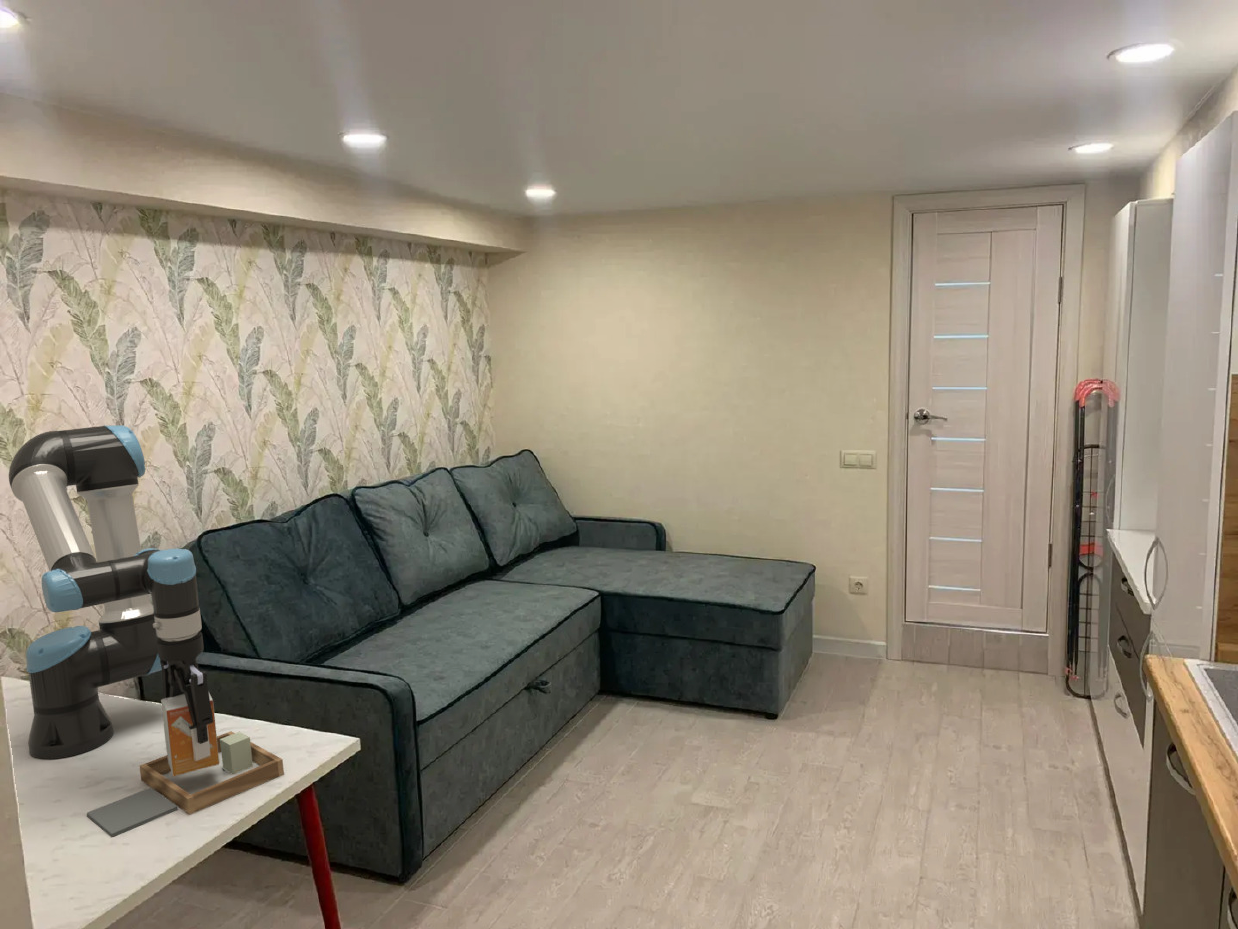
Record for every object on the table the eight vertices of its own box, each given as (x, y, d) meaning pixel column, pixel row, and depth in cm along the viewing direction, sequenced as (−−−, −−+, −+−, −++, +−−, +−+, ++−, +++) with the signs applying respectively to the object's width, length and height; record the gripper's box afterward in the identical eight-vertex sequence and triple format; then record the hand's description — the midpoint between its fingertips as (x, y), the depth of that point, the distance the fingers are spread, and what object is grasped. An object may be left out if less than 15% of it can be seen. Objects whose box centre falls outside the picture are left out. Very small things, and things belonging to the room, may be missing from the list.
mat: (87, 816, 163) (86, 812, 163) (151, 790, 171) (150, 787, 171) (112, 837, 156) (111, 834, 156) (177, 809, 164) (177, 806, 164)
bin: (141, 780, 175) (139, 765, 175) (232, 745, 189) (231, 731, 188) (189, 814, 162) (187, 798, 162) (283, 774, 176) (282, 759, 175)
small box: (173, 777, 168) (165, 710, 166) (167, 763, 174) (160, 698, 171) (220, 764, 173) (213, 699, 170) (213, 751, 178) (207, 687, 176)
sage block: (222, 768, 179) (219, 739, 178) (242, 760, 182) (239, 731, 181) (233, 774, 177) (229, 745, 176) (252, 766, 179) (249, 737, 178)
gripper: (134, 628, 172) (148, 742, 176) (184, 653, 159) (197, 776, 163) (175, 617, 178) (187, 728, 182) (226, 640, 165) (238, 759, 169)
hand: (192, 751), depth 173 cm, fingers closed on small box, 7 cm apart
